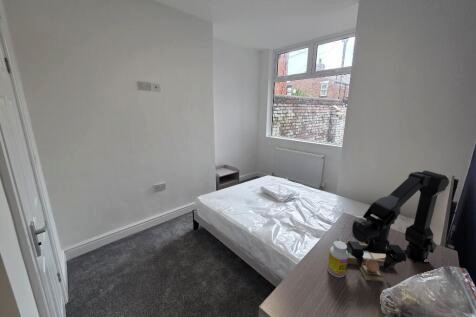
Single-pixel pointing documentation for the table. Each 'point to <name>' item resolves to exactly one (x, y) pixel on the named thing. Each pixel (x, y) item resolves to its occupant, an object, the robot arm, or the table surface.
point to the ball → (372, 265)
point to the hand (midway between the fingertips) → (371, 268)
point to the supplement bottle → (338, 259)
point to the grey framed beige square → (371, 273)
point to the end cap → (358, 222)
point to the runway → (367, 257)
